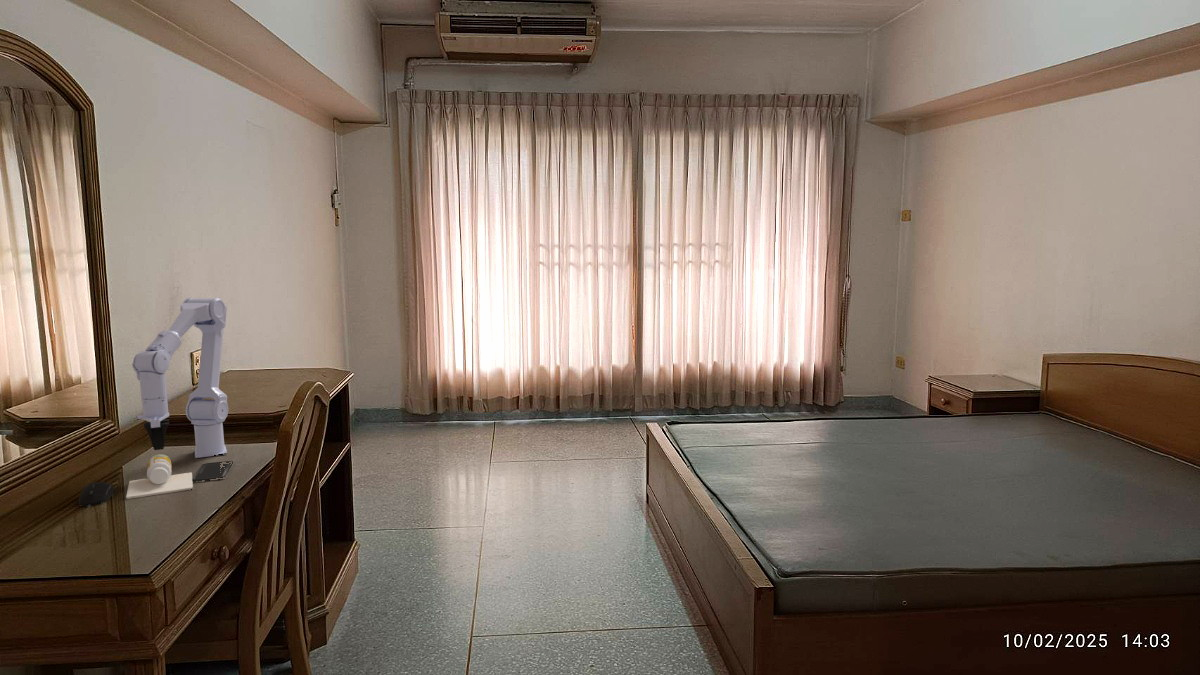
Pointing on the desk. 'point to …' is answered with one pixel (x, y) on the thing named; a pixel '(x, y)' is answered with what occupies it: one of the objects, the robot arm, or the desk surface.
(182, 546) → the desk surface
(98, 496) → the gaming mouse
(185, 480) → the sticky note pad
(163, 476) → the supplement bottle
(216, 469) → the phone
